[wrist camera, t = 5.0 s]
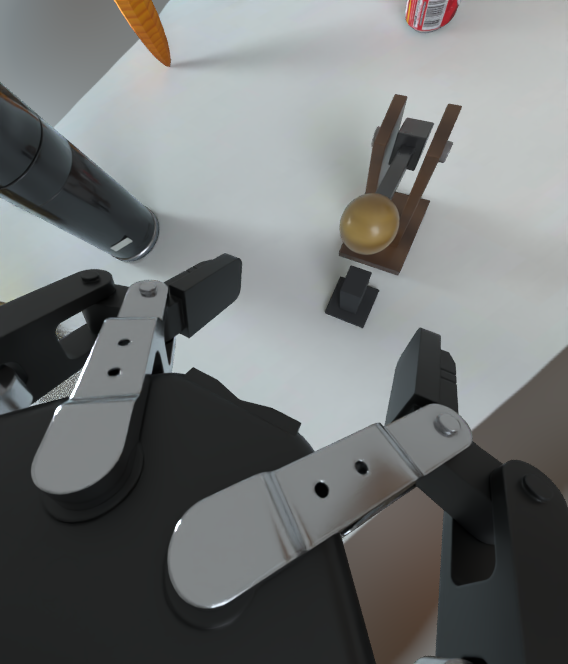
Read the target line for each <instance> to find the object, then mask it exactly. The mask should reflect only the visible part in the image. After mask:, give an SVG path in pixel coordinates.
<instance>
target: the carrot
mask: <svg viewBox="0 0 568 664" xmlns="http://www.w3.org/2000/svg"><path fill="white" fill-rule="evenodd" d="M114 1H115V3H116V4H117V6H118V8H119V9H120V11H121V12H122V14H123V15H124V17H125V18H126V20H127V22H128V23H129V25H130V26H131V28H132V29H133V30H134V32H135V33H136V34H137V36H138V37H139V38H140V40H141V41H142V42H143V43H144V45H145V46H146V47H147V48H148V50H149V51H150V52H151V53H152V54H153V55H154V56H155V57H156V58H157V59H158V60H159V61H160V62H161V63H163V64H164V65H165V66H168V67H170V63H171V59H170V51H169V46H168V42H167V38H166V35H165V32H164V29H163V26H162V24H161V21H160V18H159V16H158V13H157V11H156V9H155V7H154V5H153V2H152V0H114Z"/></svg>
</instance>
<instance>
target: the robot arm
mask: <svg viewBox="0 0 568 664" xmlns="http://www.w3.org/2000/svg"><path fill="white" fill-rule="evenodd" d="M0 198H2V199H4V200H6V201H8V202H10V203H12V204H14V205H15V206H17V207H20V208H22V209H24V210H25V211H27V212H29V213H31V214H33V215H35V216H37V217H39V218H41V219H43V220H45V221H47V222H49V223H51V224H53V225H55V226H56V227H58V228H60V229H62V230H64V231H66V232H68V233H70V234H72V235H74V236H76V237H78V238H80V239H82V240H84V241H85V242H87V243H89V244H91V245H93V246H95V247H97V248H99V249H101V250H103V251H105V252H107V253H109V254H110V255H112V256H113V257H115V258H117V259H119V260H121V261H126V262H130V261H135V260H138V259H140V258H142V257H144V256H145V255H146V254H147V253H148V252H149V251H150V250H151V249H152V248H153V246H154V244H155V243H156V240H157V237H158V233H159V225H158V220H157V218H156V216H155V215H154V213H153V212H152V211H151V210H149V209H148V208H147V207H146V206H144V205H143V204H142V203H140V202H139V201H138V200H137V199H136V198H135V197H134V196H132V195H131V194H130V193H129V192H128V191H127V190H125V189H124V188H123V187H122V186H121V185H120V184H118V183H117V182H116V181H115V180H114V179H112V178H111V177H110V176H109V175H108V174H107V173H105V172H104V171H103V170H102V169H101V168H100V167H98V166H97V165H96V164H95V163H94V162H93V161H91V160H90V159H89V158H88V157H87V156H86V155H84V154H83V153H82V152H81V151H80V150H79V149H77V148H76V147H75V146H74V145H73V144H72V143H70V142H69V141H68V140H67V139H66V138H65V137H63V136H62V135H61V134H60V133H59V132H57V131H56V130H55V129H54V128H53V127H52V126H50V125H49V124H48V123H47V122H46V121H44V120H43V119H42V118H41V117H40V116H39V115H37V114H36V113H35V112H34V111H33V110H32V109H31V108H30V107H28V106H27V105H26V104H25V103H24V102H23V101H21V100H20V99H19V98H18V97H17V96H15V95H14V94H13V93H12V92H11V91H10V90H9V89H7V88H6V87H5V86H4V85H3V84H2V83H1V82H0ZM241 273H242V261H241V259H240V258H237V257H234V256H232V255H229V254H226V253H224V254H222V255H220V256H218V257H217V258H215V259H213V260H208V261H203V262H200V263H198V264H197V265H195V266H193V268H192V267H191V268H189V269H188V270H186V271H184V272H182V273H180V274H178V275H177V276H175V277H173V278H171V279H169V280H167V281H166V282H164V283H163V282H160V281H156V280H144V281H139V282H136V283H134V284H132V285H131V286H130V287H127V286H121V285H116V284H114V281H113V278H112V275H111V274H110V273H109V272H107V271H104V270H99V269H91V270H84V271H80V272H78V273H75V274H73V275H70V276H68V277H66V278H63V279H61V280H59V281H56V282H54V283H52V284H49V285H47V286H45V287H42V288H40V289H38V290H35V291H33V292H31V293H29V294H26V295H24V296H22V297H19V298H17V299H15V300H12V301H10V302H8V303H5V304H3V305H1V306H0V664H376V662H375V659H374V655H373V651H372V648H371V644H370V640H369V637H368V633H367V629H366V626H365V622H364V618H363V615H362V611H361V608H360V604H359V600H358V597H357V593H356V589H355V586H354V582H353V578H352V575H351V571H350V568H349V564H348V560H347V557H346V553H345V549H344V545H343V542H342V538H343V537H345V536H346V535H347V534H349V533H350V532H352V531H353V530H355V529H356V528H358V527H359V526H361V525H362V524H363V523H365V522H366V521H368V520H369V519H370V518H372V517H373V516H374V515H376V514H377V513H379V512H380V511H382V510H383V509H385V508H386V507H387V506H389V505H390V504H392V503H393V502H395V501H396V500H398V499H399V498H401V497H402V496H404V495H405V494H406V493H408V492H410V491H411V490H412V489H414V488H415V487H418V488H420V489H421V490H422V491H423V492H424V493H425V494H426V495H427V496H429V497H430V498H431V499H432V500H433V501H434V502H435V503H436V504H438V505H439V506H440V507H441V508H442V509H443V510H444V516H443V533H442V551H441V568H440V569H441V570H440V586H439V603H438V621H437V639H436V656H424V657H422V658H419V659H418V660H417V661H416V662H415V663H414V664H568V507H567V504H566V501H565V499H564V497H563V495H562V494H561V492H560V490H559V489H558V488H557V487H556V485H555V484H554V483H553V482H552V481H551V480H550V479H549V478H548V477H547V476H546V475H545V474H544V473H542V472H541V471H540V470H538V469H537V468H535V467H534V466H532V465H530V464H528V463H526V462H523V461H520V460H510V461H508V462H506V463H504V464H502V463H501V462H499V461H498V460H497V459H495V458H494V457H493V456H491V455H490V454H488V453H487V452H486V451H484V450H483V449H481V448H480V447H479V446H478V445H476V444H475V443H474V442H473V441H472V439H473V438H472V432H471V430H470V427H469V426H468V424H467V423H466V421H465V420H464V419H463V418H462V417H461V416H460V415H459V414H458V398H457V385H456V383H457V381H456V376H455V375H456V365H455V362H454V360H453V359H452V357H451V355H450V353H449V352H446V351H444V350H441V336H440V335H439V334H436V333H434V332H431V331H428V330H426V329H423V328H419V329H418V330H417V331H416V333H415V334H414V336H413V338H412V339H411V341H410V342H409V344H408V345H407V347H406V349H405V350H404V352H403V353H402V355H401V357H400V359H399V361H398V363H397V366H396V369H395V374H394V379H393V384H392V390H391V395H390V400H389V405H388V410H387V416H386V421H385V426H382V424H381V423H375V424H372V425H370V426H368V427H366V428H364V429H362V430H360V431H358V432H355V433H353V434H351V435H349V436H347V437H345V438H343V439H341V440H339V441H336V442H334V443H332V444H330V445H328V446H326V447H324V448H322V449H320V450H317V451H314V450H313V448H312V447H311V446H310V444H309V443H308V442H307V441H306V440H305V438H304V437H303V436H302V435H300V434H299V433H298V431H299V428H300V426H301V423H300V422H298V421H297V420H295V419H293V418H291V417H289V416H287V415H285V414H283V413H281V412H279V411H277V410H275V409H273V408H270V407H266V406H262V405H258V404H254V403H250V402H246V401H242V400H240V399H238V398H237V397H236V396H235V395H234V394H233V393H231V392H230V391H229V390H228V389H227V388H226V387H225V386H224V385H223V384H221V383H220V382H219V381H218V380H217V379H215V378H213V377H211V376H209V375H207V374H205V373H203V372H201V371H199V370H197V369H195V368H192V369H190V370H189V371H188V372H187V373H186V374H180V373H172V368H173V361H174V353H175V345H176V338H175V336H176V335H178V334H179V333H180V334H182V335H184V336H186V337H188V338H190V337H191V336H193V335H194V334H195V333H196V332H198V331H199V330H200V329H201V328H202V327H204V326H205V325H206V324H207V323H208V322H210V321H211V320H212V319H213V318H215V317H216V316H217V315H218V314H219V313H221V312H222V311H223V310H224V309H225V308H227V307H228V306H229V305H230V304H232V303H233V302H234V301H235V300H236V299H237V297H238V296H239V293H240V289H241ZM81 311H82V313H83V315H84V318H85V320H86V322H87V324H85V325H83V326H81V327H80V328H78V329H76V330H75V331H73V332H71V333H70V334H68V335H66V336H65V337H63V338H61V339H60V340H58V338H57V337H56V334H55V331H56V328H57V326H58V325H59V324H60V323H61V322H63V321H65V320H66V319H68V318H70V317H72V316H74V315H76V314H77V313H79V312H81ZM83 367H84V369H83V371H82V373H81V375H80V378H79V380H78V382H77V385H76V387H75V389H74V391H73V394H72V396H69V397H65V398H62V399H58V400H54V401H50V402H46V403H42V404H39V405H35V406H31V407H29V406H30V405H32V404H33V403H34V402H36V401H37V400H38V399H40V398H41V397H43V396H44V395H45V394H47V393H48V392H50V391H51V390H52V389H54V388H55V387H57V386H58V385H59V384H61V383H62V382H63V381H65V380H66V379H68V378H69V377H70V376H72V375H73V374H75V373H76V372H77V371H79V370H80V369H82V368H83Z"/></svg>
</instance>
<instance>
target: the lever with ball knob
mask: <svg viewBox="0 0 568 664" xmlns="http://www.w3.org/2000/svg"><path fill="white" fill-rule="evenodd" d="M433 125H434V123H432V122H427V121H422V120H417V119H411V118H406V120H405V122H404V123H403V125H402V127H401V128H400V130H399V132H398V134H397V137H396V140H395V143H394V146H393V150H392V153H391V156H390V159H389V162H388V165H390V167H389V168H388V170H387V172H386V174H385V176H384V177H383V179H382V181H381V183H380V185H379V187H378V188H377V190H376V192H375V193H368V194H364V195H361V196H359V197H357V198H356V199H354V200H353V201H352V202H351V203H350V204H349V205H348V206H347V207H346V208H345V210H344V212H343V214H342V216H341V220H340V235H341V238H342V240H343V242H344V244H345V245H346V246H347V247H348V248H349V249H350V250H352V251H353V252H355V253H358V254H363V255H370V254H375V253H377V252H380V251H382V250H383V249H385V248H386V247H387V246H388V245H389V244H390V243H391V242H392V241H393V239H394V238H395V236H396V234H397V231H398V228H399V213H398V210H397V208H396V206H395V204H394V203H393V202H392V201H391V200H392V198H393V196H394V194H395V191H396V189H397V187H398V185H399V183H400V181H401V179H402V177H403V175H404V173H405V171H406V169H408V170H412V171H414V170H415V168H416V166H417V164H418V161H419V159H420V157H421V155H422V152H423V150H424V147H425V145H426V143H427V140H428V138H429V135H430V133H431V130H432V128H433Z"/></svg>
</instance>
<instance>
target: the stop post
mask: <svg viewBox="0 0 568 664" xmlns="http://www.w3.org/2000/svg"><path fill="white" fill-rule="evenodd" d="M371 274H372V273H371V272H369V271H366V270H363V269H360V268H357V267H354V266H350V269H349V271H348V273H347V275H346V278H344V277H340V279H339V281H338V283H337V286H336V288H335V290H334V293H333V295H332V297H331V299H330V302H329V304H328V306H327V309H326V311H325V313H326V314H329V315H331V316H334V317H336V318H339V319H341V320H344V321H346V322H349V323H351V324H354V325H356V326H359V327H361V328H363V327H364V325H365V322H366V320H367V318H368V315H369V313H370V311H371V308H372V306H373V304H374V301H375V299H376V297H377V294H378V292H379V290H378V289H375V288H372V287H369V286H367V285H368V282H369V279H370V277H371Z"/></svg>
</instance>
